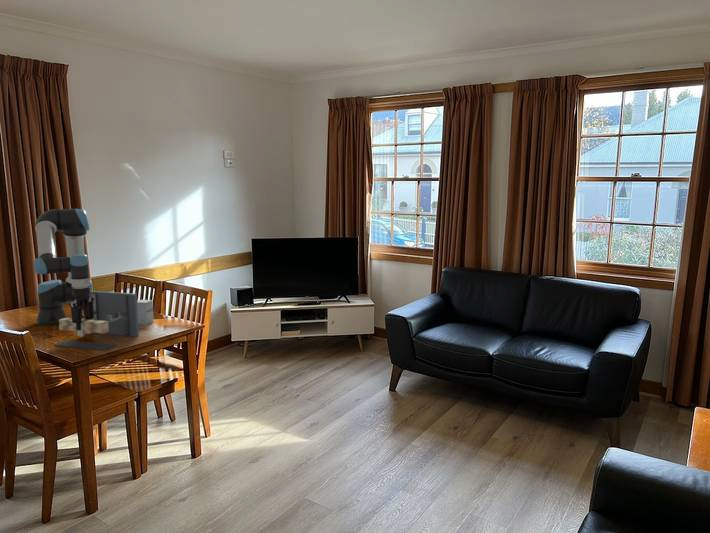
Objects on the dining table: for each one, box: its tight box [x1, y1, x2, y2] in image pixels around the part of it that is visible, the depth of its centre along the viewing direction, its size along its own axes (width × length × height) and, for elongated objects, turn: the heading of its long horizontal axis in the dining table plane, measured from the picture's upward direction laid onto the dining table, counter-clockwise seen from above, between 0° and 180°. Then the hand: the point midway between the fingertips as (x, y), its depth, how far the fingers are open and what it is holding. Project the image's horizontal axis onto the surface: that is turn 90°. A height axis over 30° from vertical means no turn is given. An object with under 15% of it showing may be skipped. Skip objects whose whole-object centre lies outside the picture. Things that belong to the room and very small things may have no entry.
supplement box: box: [137, 299, 155, 326], centre depth 292 cm, size 7×7×13 cm
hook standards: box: [82, 294, 131, 338], centre depth 263 cm, size 20×14×21 cm
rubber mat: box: [53, 339, 117, 352], centre depth 251 cm, size 28×8×1 cm, turn 77°
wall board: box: [89, 290, 140, 337], centre depth 270 cm, size 28×2×22 cm, turn 77°
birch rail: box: [58, 317, 109, 334], centre depth 250 cm, size 24×4×5 cm, turn 77°
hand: (84, 334), depth 250 cm, fingers closed on birch rail, 4 cm apart
